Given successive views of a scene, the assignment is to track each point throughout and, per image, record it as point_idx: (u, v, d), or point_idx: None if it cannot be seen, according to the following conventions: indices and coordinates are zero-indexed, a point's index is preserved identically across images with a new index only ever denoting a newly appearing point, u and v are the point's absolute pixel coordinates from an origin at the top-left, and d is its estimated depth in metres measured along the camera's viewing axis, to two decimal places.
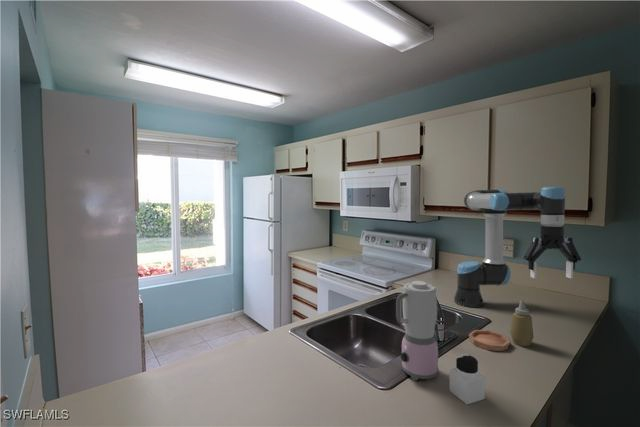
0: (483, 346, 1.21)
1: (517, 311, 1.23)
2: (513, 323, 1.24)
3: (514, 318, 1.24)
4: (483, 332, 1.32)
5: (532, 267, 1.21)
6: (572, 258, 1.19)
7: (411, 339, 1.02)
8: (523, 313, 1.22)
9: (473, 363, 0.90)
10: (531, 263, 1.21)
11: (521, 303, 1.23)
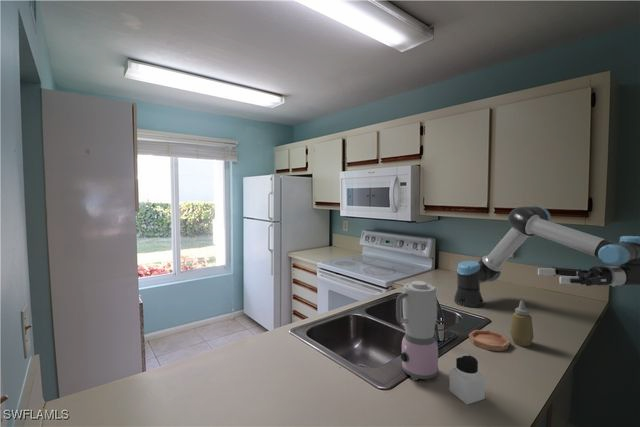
0: (483, 346, 1.21)
1: (517, 311, 1.23)
2: (513, 323, 1.24)
3: (514, 318, 1.24)
4: (483, 332, 1.32)
5: None
6: None
7: (411, 339, 1.02)
8: (523, 313, 1.22)
9: (473, 363, 0.90)
10: (579, 282, 1.13)
11: (521, 303, 1.23)
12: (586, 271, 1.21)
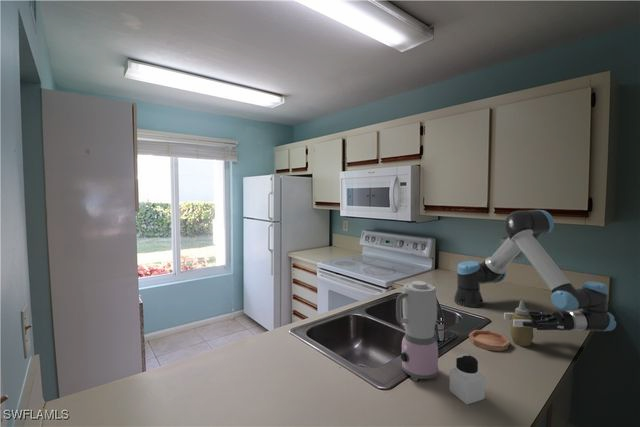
0: (483, 346, 1.21)
1: (517, 311, 1.23)
2: None
3: (514, 318, 1.24)
4: (483, 332, 1.32)
5: None
6: None
7: (411, 339, 1.02)
8: (523, 313, 1.22)
9: (473, 363, 0.90)
10: None
11: (521, 303, 1.23)
12: (550, 315, 1.23)
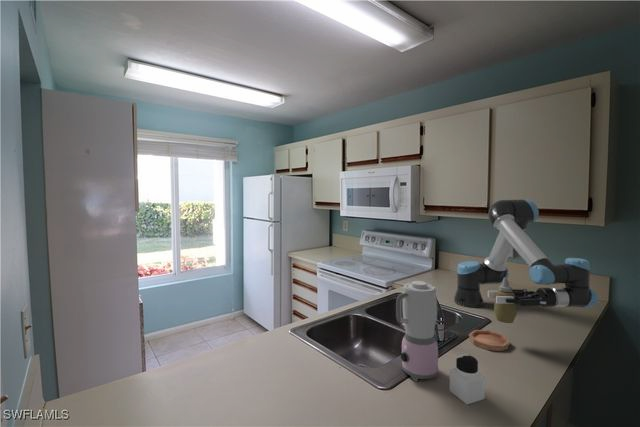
0: (483, 346, 1.21)
1: (500, 288, 1.23)
2: None
3: (497, 295, 1.23)
4: (483, 332, 1.32)
5: None
6: None
7: (411, 339, 1.02)
8: (506, 290, 1.21)
9: (473, 363, 0.90)
10: (513, 302, 1.19)
11: (504, 280, 1.23)
12: (533, 292, 1.23)
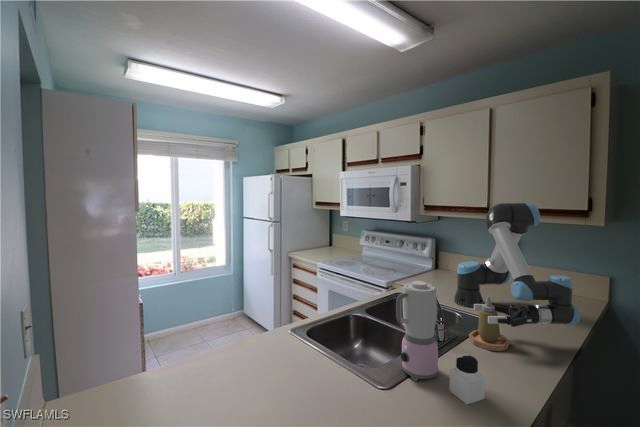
0: (483, 346, 1.21)
1: (483, 308, 1.25)
2: (480, 320, 1.25)
3: (481, 315, 1.25)
4: None
5: None
6: None
7: (411, 339, 1.02)
8: (489, 309, 1.23)
9: (473, 363, 0.90)
10: None
11: (487, 300, 1.25)
12: (516, 309, 1.25)
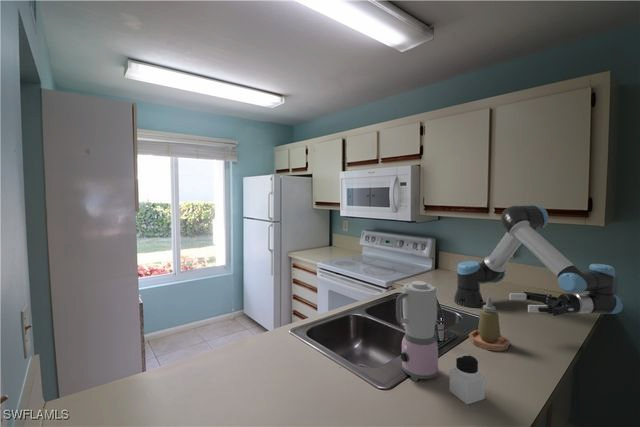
0: (483, 346, 1.21)
1: (484, 308, 1.25)
2: (480, 320, 1.25)
3: (481, 315, 1.25)
4: None
5: None
6: None
7: (411, 339, 1.02)
8: (490, 310, 1.23)
9: (473, 363, 0.90)
10: None
11: (488, 300, 1.24)
12: (555, 298, 1.22)
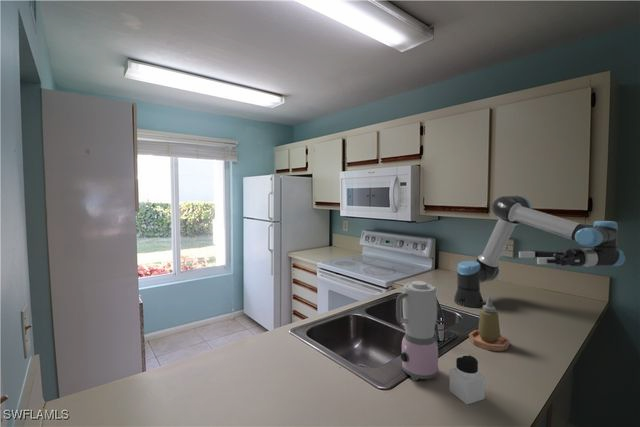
0: (483, 346, 1.21)
1: (484, 308, 1.25)
2: (480, 320, 1.25)
3: (481, 315, 1.25)
4: None
5: None
6: (537, 257, 1.38)
7: (411, 339, 1.02)
8: (489, 310, 1.23)
9: (473, 363, 0.90)
10: None
11: (488, 300, 1.24)
12: (562, 253, 1.31)
